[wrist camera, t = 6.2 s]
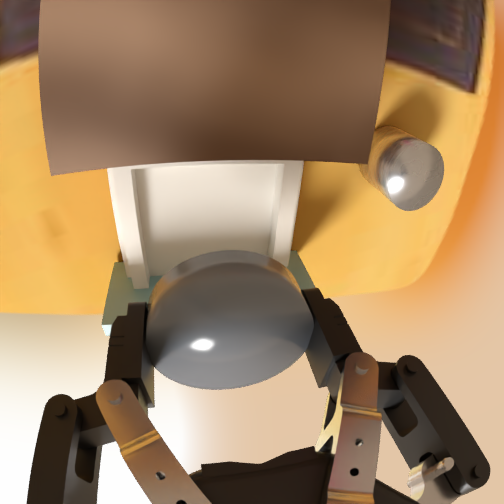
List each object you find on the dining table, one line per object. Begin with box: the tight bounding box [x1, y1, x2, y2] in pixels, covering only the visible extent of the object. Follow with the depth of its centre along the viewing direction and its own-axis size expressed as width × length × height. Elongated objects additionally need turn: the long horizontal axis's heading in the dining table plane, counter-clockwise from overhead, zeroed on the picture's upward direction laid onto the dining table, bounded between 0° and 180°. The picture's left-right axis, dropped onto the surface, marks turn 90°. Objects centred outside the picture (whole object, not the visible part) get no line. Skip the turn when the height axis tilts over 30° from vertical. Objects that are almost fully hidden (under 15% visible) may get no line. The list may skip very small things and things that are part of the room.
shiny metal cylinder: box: [359, 126, 444, 211], centre depth 19 cm, size 5×5×4 cm
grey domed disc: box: [145, 250, 314, 390], centre depth 12 cm, size 6×6×2 cm
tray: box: [102, 160, 316, 336], centre depth 15 cm, size 17×14×6 cm
